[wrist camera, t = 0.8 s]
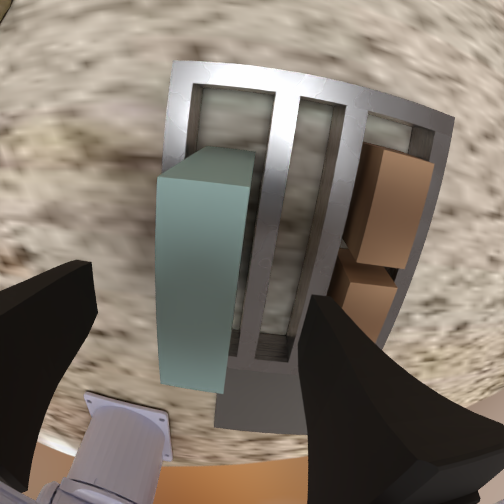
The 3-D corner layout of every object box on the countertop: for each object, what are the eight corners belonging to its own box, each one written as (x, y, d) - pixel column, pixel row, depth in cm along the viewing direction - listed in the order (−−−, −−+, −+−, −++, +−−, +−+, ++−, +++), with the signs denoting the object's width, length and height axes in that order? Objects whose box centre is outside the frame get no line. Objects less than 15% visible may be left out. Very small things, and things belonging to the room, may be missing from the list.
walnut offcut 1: (378, 236, 17) (404, 269, 14) (337, 229, 17) (356, 262, 14) (398, 150, 15) (434, 163, 12) (356, 140, 15) (384, 149, 11)
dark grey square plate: (326, 431, 25) (327, 435, 25) (214, 423, 25) (213, 427, 24) (366, 353, 21) (367, 357, 20) (222, 340, 20) (222, 344, 20)
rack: (359, 352, 21) (368, 378, 18) (170, 332, 20) (161, 357, 18) (431, 115, 14) (454, 117, 12) (186, 67, 14) (172, 60, 11)
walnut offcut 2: (350, 322, 20) (365, 364, 16) (313, 318, 20) (322, 362, 16) (373, 252, 18) (397, 287, 14) (333, 246, 18) (350, 282, 14)
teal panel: (237, 289, 19) (223, 393, 12) (195, 283, 19) (160, 383, 12) (255, 151, 16) (250, 187, 8) (206, 145, 15) (157, 176, 8)
